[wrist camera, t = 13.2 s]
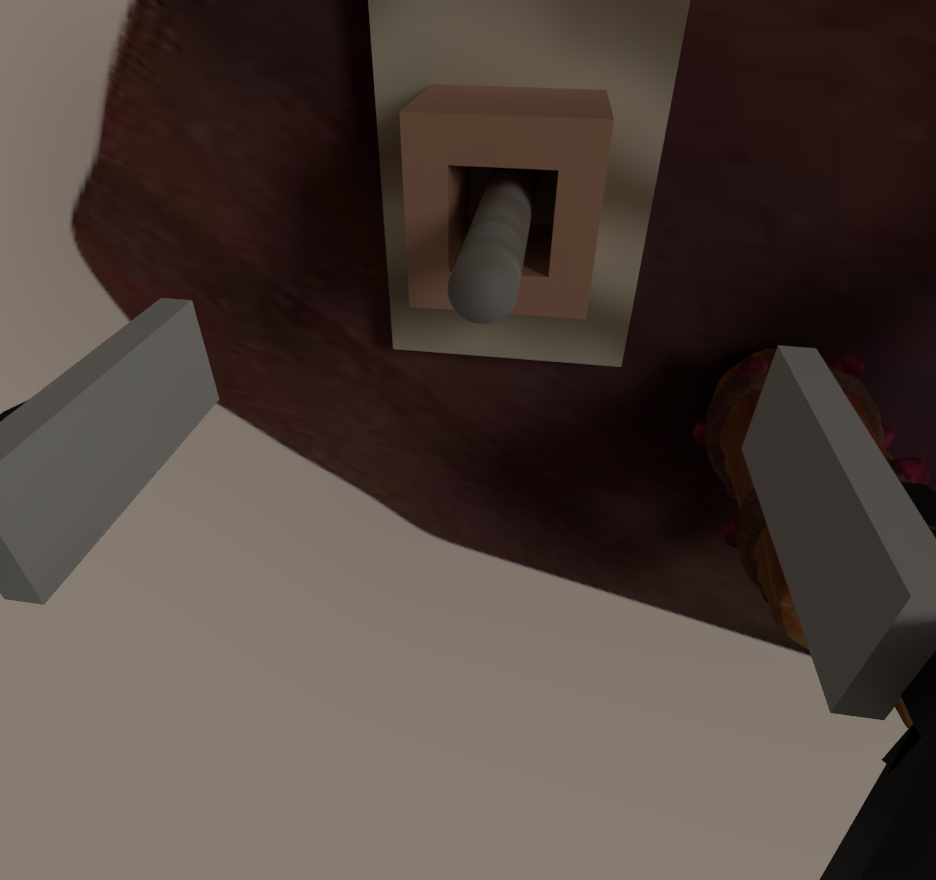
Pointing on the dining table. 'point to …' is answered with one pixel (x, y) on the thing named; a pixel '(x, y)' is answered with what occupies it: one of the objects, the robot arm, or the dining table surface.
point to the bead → (505, 146)
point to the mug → (749, 527)
